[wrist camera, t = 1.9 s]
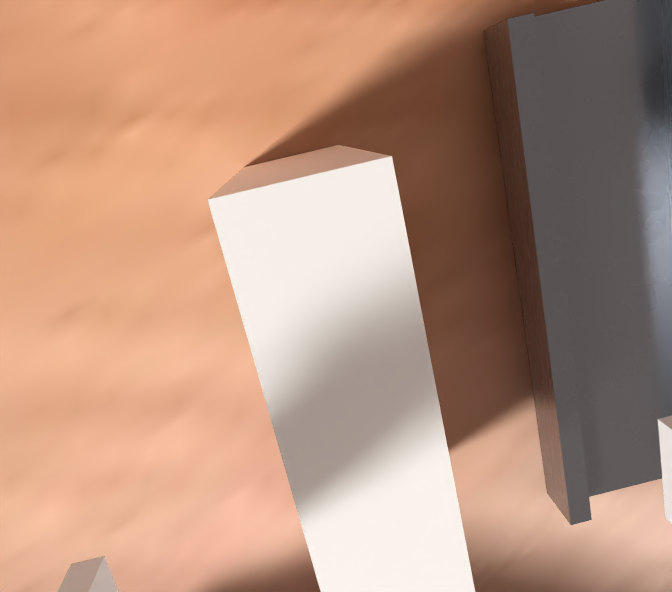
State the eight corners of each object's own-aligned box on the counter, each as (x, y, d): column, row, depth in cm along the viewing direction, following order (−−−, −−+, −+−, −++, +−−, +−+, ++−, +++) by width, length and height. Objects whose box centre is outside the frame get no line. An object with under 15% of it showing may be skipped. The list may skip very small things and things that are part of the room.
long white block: (244, 166, 24) (207, 199, 12) (338, 144, 24) (392, 155, 12) (330, 493, 28) (363, 741, 17) (409, 473, 28) (497, 706, 17)
